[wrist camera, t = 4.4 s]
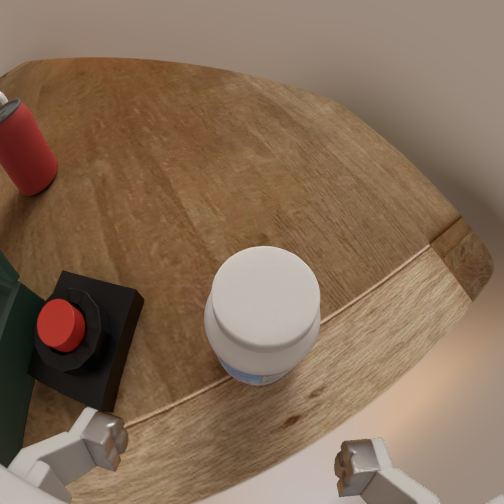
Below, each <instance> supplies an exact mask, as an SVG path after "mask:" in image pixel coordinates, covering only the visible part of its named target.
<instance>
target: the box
mask: <svg viewBox="0 0 504 504" xmlns="http://www.w3.org/2000/svg"><path fill="white" fill-rule="evenodd" d="M44 302H45V301H44V300H43V299H42V298H40V297H39V296H38V295H36V294H35V293H34V292H32V291H31V290H30V289H28V288H27V287H26V286H25V285H23V284H22V283H21V282H18V281H17V282H16V283H13V282H10V281H8V280H6V279H3V278H1V277H0V464H1V465H3V466H4V467H5V468H8V467H9V465H10V464H11V462H12V461H13V460H14V458H15V457H16V456H17V454H18V453H19V452H20V450H21V449H22V442H23V435H24V429H25V423H26V417H27V412H28V407H29V402H30V398H31V393H32V389H33V385H34V381H35V378H33V377H31V376H30V375H28V374H27V371H28V367H29V364H30V360H31V357H32V353H33V350H34V346H35V343H34V328H33V327H34V323H35V320H36V317H37V314H38V311H39V309H40V307H41V305H42V304H43V303H44Z"/></svg>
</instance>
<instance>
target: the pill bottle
mask: <svg viewBox="0 0 504 504" xmlns="http://www.w3.org/2000/svg"><path fill="white" fill-rule="evenodd" d="M320 320H321V317H320V289H319V285H318V282H317V280H316V277H315V275H314V273H313V272H312V271H311V269H310V268H309V267H308V265H307V264H306V263H305V262H304V261H303V260H301V259H300V258H299V257H297V256H296V255H294V254H292V253H291V252H288V251H286V250H283V249H280V248H276V247H270V246H259V247H252V248H248V249H245V250H242V251H240V252H238V253H236V254H235V255H233V256H231V257H230V258H229V259H228V260H227V261H226V262H225V263H224V264H223V265H222V266H221V267H220V269H219V270H218V272H217V274H216V276H215V278H214V281H213V284H212V289H211V293H210V295H209V297H208V300H207V303H206V306H205V312H204V325H205V331H206V335H207V338H208V341H209V343H210V345H211V347H212V349H213V350H214V352H215V354H216V356H217V358H218V360H219V361H220V363H221V365H222V366H223V368H224V369H225V370H226V372H227V373H228V374H229V375H230V376H232V377H233V378H234V379H236V380H238V381H239V382H242V383H244V384H248V385H255V386H260V385H266V384H270V383H273V382H275V381H277V380H279V379H280V378H282V377H283V376H285V375H286V374H287V373H288V372H289V371H290V370H292V369H293V368H294V367H295V366H296V365H297V364H298V363H300V362H301V361H302V360H303V359H304V358H305V357H306V355H307V354H308V353H309V352H310V350H311V349H312V347H313V346H314V344H315V342H316V339H317V337H318V334H319V329H320Z"/></svg>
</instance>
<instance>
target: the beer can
mask: <svg viewBox="0 0 504 504" xmlns="http://www.w3.org/2000/svg"><path fill="white" fill-rule="evenodd" d="M0 163H1V165H2V166H3V168H4V169H5V171H6V172H7V174H8V175H9V177H10V178H11V179H12V181H13V182H14V184H15V185H16V186H17V188H18V189H19V191H20V192H21V193H22V194H23V195H26V196H31V195H35V194H37V193H39V192H41V191H42V190H44V189H45V188H46V187H47V186H48V185H49V184H50V183H51V182H52V180H53V179H54V177H55V175H56V173H57V169H58V164H57V161H56V159H55V158H54V156H53V154H52V152H51V150H50V148H49V147H48V145H47V143H46V141H45V139H44V137H43V135H42V133H41V131H40V129H39V127H38V125H37V123H36V121H35V119H34V117H33V115H32V113H31V111H30V109H29V108H28V107H27V106H26V105H25V104H23V103H22V102H21V99H19V98H16V99H13V100H10V101H9V102H7V103H5V104H4V105H2V106H1V107H0Z"/></svg>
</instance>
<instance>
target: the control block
mask: <svg viewBox="0 0 504 504" xmlns="http://www.w3.org/2000/svg"><path fill="white" fill-rule="evenodd" d="M55 299H62V300H65V301H67V302H68V303H70V304H71V305H72V306H73V307H75V308H76V309H77V310H79V311H80V312H81V314H82V315H83V317H84V320H85V327H86V328H85V335H84V338H83V340H82V342H81V343H80V345H79V346H78V347H77V348H76V349H74V350H72V351H70V352H61V351H58V350H56V349H54V348H52V347H50V346H48V345H46V344H45V343H44V342H43V341H42V340H41V339H40V337H39V334H38V330H37V321H38V317H39V314H40V312H41V310H42V308H43V307H44V306H45V305H46V304H47V303H48V302H50V301H52V300H55ZM143 302H144V299H143V297H142V296H141V295H140V294H139V293H138V291H137V290H136V289H132V288H128V287H124V286H120V285H116V284H112V283H108V282H104V281H100V280H96V279H93V278H89V277H85V276H81V275H78V274H74V273H70V272H67V271H62V273H61V275H60V277H59V280H58V282H57V285H56V287H55V290H54V292H53V294H52V295H51V296H50V297H49V298H48V299H47V300H46V301H45V302H44V303H43V304H42V305H41V307H40V309H39V311H38V314H37V317H36V320H35V323H34V327H33V328H34V343H35V346H34V350H33V353H32V357H31V360H30V364H29V367H28V371H27V374H28V375H30V376H31V377H33V378H35V379H37V380H38V381H40V382H42V383H44V384H45V385H47V386H49V387H51V388H53V389H55V390H57V391H59V392H61V393H62V394H64V395H66V396H68V397H70V398H73V399H75V400H77V401H79V402H81V403H83V404H85V405H87V406H90V407H92V408H94V409H96V410H99V411H105V412H113V409H114V404H115V400H116V396H117V392H118V388H119V384H120V380H121V377H122V373H123V369H124V365H125V362H126V358H127V355H128V351H129V348H130V344H131V341H132V337H133V334H134V331H135V328H136V324H137V321H138V318H139V315H140V312H141V309H142V305H143Z"/></svg>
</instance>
